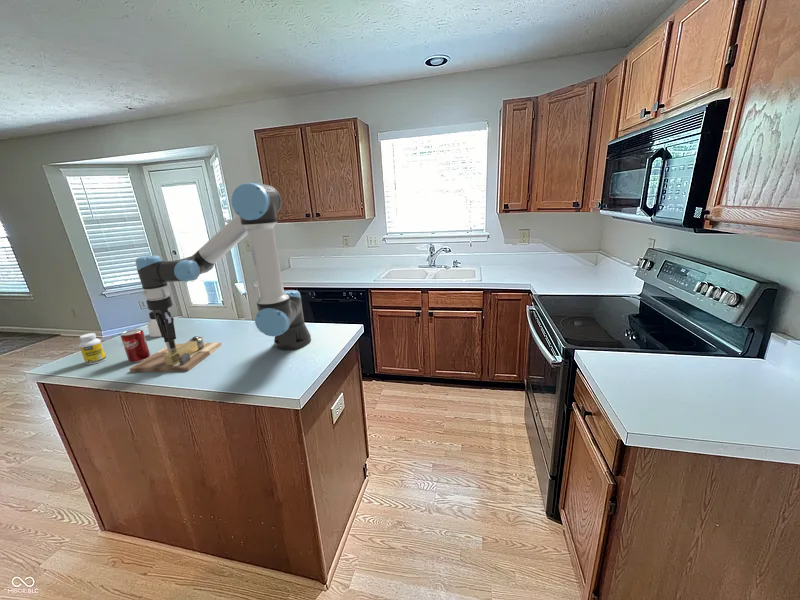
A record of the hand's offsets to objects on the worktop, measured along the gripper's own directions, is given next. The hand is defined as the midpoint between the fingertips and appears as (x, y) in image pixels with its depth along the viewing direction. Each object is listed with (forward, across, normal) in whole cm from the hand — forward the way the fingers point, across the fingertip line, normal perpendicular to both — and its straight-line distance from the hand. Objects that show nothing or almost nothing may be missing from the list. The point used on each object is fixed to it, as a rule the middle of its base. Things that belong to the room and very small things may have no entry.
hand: (173, 355), depth 130 cm
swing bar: (+1, +1, +4) cm, 4 cm away
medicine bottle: (+4, -42, +9) cm, 43 cm away
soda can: (+4, -17, -7) cm, 19 cm away
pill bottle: (+4, -32, -18) cm, 37 cm away
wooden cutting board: (+3, -4, +3) cm, 5 cm away
